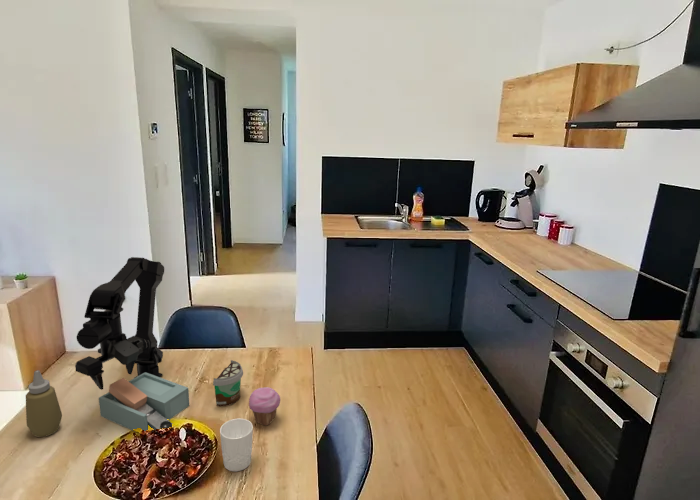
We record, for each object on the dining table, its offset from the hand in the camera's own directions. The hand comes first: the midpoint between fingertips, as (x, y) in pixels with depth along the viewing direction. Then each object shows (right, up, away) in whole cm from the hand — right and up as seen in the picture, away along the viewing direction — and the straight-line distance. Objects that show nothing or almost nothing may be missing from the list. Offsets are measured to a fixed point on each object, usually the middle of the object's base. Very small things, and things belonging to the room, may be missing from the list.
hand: (116, 381), depth 130 cm
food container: (+31, -9, +11) cm, 34 cm away
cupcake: (+43, -12, +1) cm, 44 cm away
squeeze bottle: (-15, -12, -7) cm, 20 cm away
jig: (+7, -10, +3) cm, 12 cm away
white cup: (+39, -16, -15) cm, 45 cm away
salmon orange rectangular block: (+4, -4, -1) cm, 6 cm away
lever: (+9, -8, -3) cm, 13 cm away
